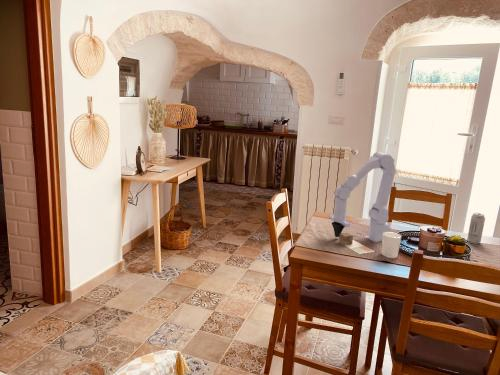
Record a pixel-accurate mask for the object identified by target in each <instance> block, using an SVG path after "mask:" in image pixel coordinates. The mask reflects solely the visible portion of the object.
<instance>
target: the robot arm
mask: <svg viewBox="0 0 500 375" xmlns="http://www.w3.org/2000/svg"><path fill="white" fill-rule="evenodd" d="M375 169H380V170H381V171H382V176H381V180H380V182H379V183H380V184H379V188H378V192H377V196H376V199H375V202H374V203H373V204H372V206H371V208H370V209H369V211H368V216H369V218H370V220H369V229H368V235H365V236H364V237H365V238H366V239H368V240H370V241H371V242H375V243H377V242H382V239H383V233H384V232H390V224H389V222H388V221H389V218H390V217H389V208H388V203H389V199H390V194H391V191H392V186H393V183H394V178H395V175H396V167H395V159H394V157H393V156H392V155H391V154H388V153H385V152H384V153H383V152H382V151H377V152H375V153H374V154H373V155H371V156H370V157H369V159H368V160H367V162H366V163H365V164H364V165H363V166H362V167H361V168H360V169H359V170H358V171H357V173H355V174H351V175H349V176H348V177H347V179H346V180H345V181H343V183H340V185H339V186H337V187H335V190H333V194H334V196H335V200H334V206H333V207H334V210H333V214H329V215H328V220H331V221H332V222H331V226H332V228H333V233H334V237H335V238H339V237H340V233H343V230H344V228H346V229H347V228H350V226H351V223H350V222H348V221H347V219H346V215H347V205H348V198H349V199H350V197H351V193H352V192H353V191H354V190H355V189H356V188H357V187H358V186H360V184H361V180H362V179H363V178H365V176H367V174H369V173H370V172H371V171H373V170H375Z"/></svg>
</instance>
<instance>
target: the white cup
mask: <svg viewBox="0 0 500 375" xmlns="http://www.w3.org/2000/svg"><path fill="white" fill-rule="evenodd" d="M401 241H402V235H401V234H399V233H397V232H394V231H393V232H392V231H389V232H384V233H383V239H382V241H381V255H383V256H384V257H385V258H387V259H396V258H398V255H399V254H398V253H399V251H400V247H401Z"/></svg>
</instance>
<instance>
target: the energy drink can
mask: <svg viewBox="0 0 500 375" xmlns="http://www.w3.org/2000/svg"><path fill="white" fill-rule="evenodd" d="M485 222H486V217H485V214H483V213H480V212H474V213H472V215H471V218H470V223H469V229H468V233H467V242H468V243H470V244H475V245H479V244H480V243H481V242H482V241H481V240H482V237H483V236H482V235H483V232H484V226H485Z"/></svg>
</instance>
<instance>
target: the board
mask: <svg viewBox="0 0 500 375" xmlns="http://www.w3.org/2000/svg"><path fill="white" fill-rule="evenodd" d="M338 243H339V244H341V243H340V242H339V241H338ZM344 247H346V248H347V249H350V250H351V251H354V252H355V253H357V254H359V255H362V254H369V253H374V252H376V251H375V250H373V249H370V248H369V247H367V246H365V245H363V244H361V243H360V242H358V241H356V240H354V239H353V242H352V244H351V245H344Z"/></svg>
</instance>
